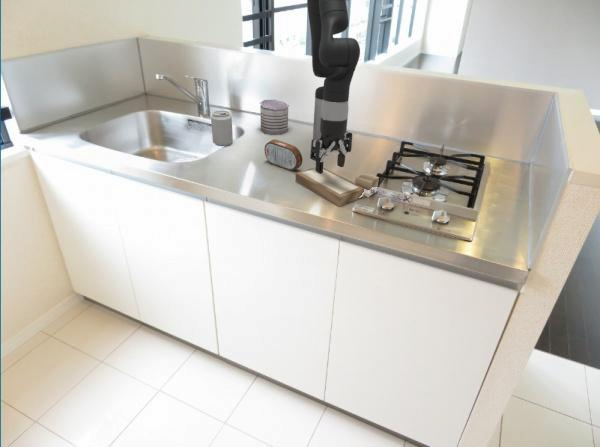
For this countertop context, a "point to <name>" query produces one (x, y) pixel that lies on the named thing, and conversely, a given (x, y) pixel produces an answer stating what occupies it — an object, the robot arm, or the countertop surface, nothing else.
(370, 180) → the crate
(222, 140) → the can
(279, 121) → the can
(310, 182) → the block
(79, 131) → the countertop surface
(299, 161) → the tin
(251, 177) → the countertop surface
